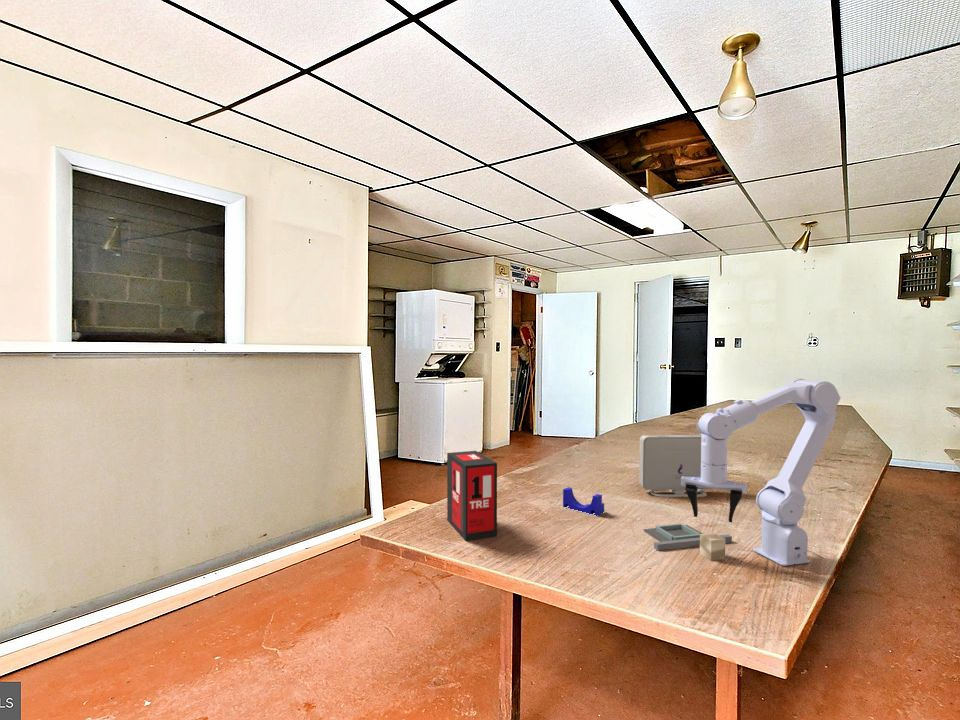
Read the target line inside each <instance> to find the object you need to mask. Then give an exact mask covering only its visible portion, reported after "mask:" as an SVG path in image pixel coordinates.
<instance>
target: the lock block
mask: <svg viewBox="0 0 960 720" xmlns="http://www.w3.org/2000/svg"><path fill="white" fill-rule="evenodd" d="M719 535H720V534H717V533H715V532H709V533H708V532H707V533H703V534H700V546H699V555H701V556H702V557H703V558H705V557H706V559H707V560H709V561H711V562H712V561H720V560H726V543H725V538H723V537H721V536H719Z"/></svg>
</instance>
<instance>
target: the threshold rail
mask: <svg viewBox="0 0 960 720" xmlns="http://www.w3.org/2000/svg"><path fill="white" fill-rule="evenodd" d="M718 535H719V536H721V537H723V538H725V544H726V543H728V544H729V543H732V542H733V541H732V540H733V539H732V537H733V536H731V535H730V534H718ZM691 547H692V548H693V547H700V537H699V538H690V539H681V540H671V541H662V542H660V541H655V542H654V544H653V548H654V549H655V550H656V551H658V552H659V551H665V550H674V549H683V548H684V549H685V548H691Z"/></svg>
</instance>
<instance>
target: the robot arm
mask: <svg viewBox="0 0 960 720" xmlns="http://www.w3.org/2000/svg"><path fill="white" fill-rule="evenodd" d="M840 400H841V396H840V394H839V391H838V389H837V387H836V385H834V384H833V383H832V382H829V381H825V380H824V381H823V380H822V381H818V380H811V379H810V380H809V379H804V378H796V379H794V380H793V381H789V382H785V383H784V384H783V385H782V386H780V387H778V388H776V389H774V390H772V391H770V392H768V393H766V394H764V395H762V396H760V397H758V398H756V399H754V400H752V401H749V400H746V399H736V400H735V399H734V401H733V403H732V404H731V405H727V406H726V407H724V408H721V407H719V408H717V409H716V411H715V412H707V413H704V414H702V415H701V417H700V418H699V420H698V422H697V423H696V428H697V430H698V432H699V433H700V435H701V477H684V476H682V477H681V486H686V489H685V490H684V491H685V494H687V495H688V497H687V498H689V501H690V504H691V507H692V513H693V517H694V518H697V517H698V515H699V509H698V497H697V494H699V492H698V487H702V488H710V489H709V490H719V491H727V492H729V512H728V523H733V518H734V513H735V511H736V508H737V506H738V504H739V503H740V501H741V499H742V495H744V494H745V495H747V494H748V483H742V482H738V481H731V480H728V479H727V477H728V476H727V474H728V470H727V469H728V439H729V437H730V436H731V435H732V433H733V432H735V431H736V430H738V429H741V428H744V427H745V426H748V425H750V424H752V423H753V424H754V423H755V422H757V420H759V419H758V418H759V415H761V414H763V413H765V412H768V411H771V410H774V409H776V408H779V407H782V406H784V405H787V404H790V403H791V404H792V403H793V404H794V405H795V406H796V408H797V409H798V410H799V411H800V412H801V413H802V416H803V417H804V419H805V421H804V424H803V426H802V428H801V430H800V432H799V433H798V435H797V436H796V439H795V442H794V444H793V446H792V448H791V449H790V451H789V453H788V455H787V457H786V460H785V461H784V464H783V465H782V468H781V469H780V471H779V473H778V476H777V477H775V478H772V479H770V480H768V481H767V483H766V485H765V486H764V487H763V488H762V489H761V490H759V491H758V493H757V494H756V496H755V497H756V498H755V502H756V505H757V507H759V509H760V511H761V512H760V513H761V543H760V544H761V546H760V547H753V548H752V551H753V552H755V553H758V554H760V555H761V556H763V557H764V558H766V559H769V560H771V561H773V562H775V563H777V564H779V565H780V566H783V567H787V566H793V565H794V564H795V565H802V564H808V563H810V562H811V560H810V559H808V546H809V545H808V542H809V541H808V539H809V538H808V537H809V536H808V533H807V532H806V531H805V529H803V528H801V527H800V526H799V525H798V522H799V521H801V519H802V518H803V515H804V506H805V502H806V501H807V498H806V495H805V492H804V490H803V487H804V485H805V483H806V480H807V479H808V477H809V475H810V473H811V472H812V469H813V467H814V465H815V464H816V461H817V459H818V457H819V455H820V454H821V451H822V450H823V447H824V445H825V443H826V442H827V439H828V437H829V436H830V433H831V432H832V429H833V428H834V425H835V423H836V411H837V409H836V408H837V407H838V404H839V403H840Z"/></svg>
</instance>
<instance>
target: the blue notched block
mask: <svg viewBox="0 0 960 720" xmlns="http://www.w3.org/2000/svg"><path fill="white" fill-rule="evenodd" d="M567 506H569V507H568V508H570V509H569V510H571V509H574V510H578V511H582V512H586V513H589V514H588V515H590V514H593V513H595V514H594V515H596V516H595V517H598V516H597V515H599V514H601V513H603V512H604V513H605V503H603V494H599V493H596V494H595V495H592V499H591V502H590V503H589V504H588V503H587V504H582V503H581V502H579V501H578V500H577V499H576V497H575V494H574V492H573V488H572V487H565V488H563V489H562V508H563V507H567ZM574 510H573V511H574ZM578 511H577V512H578ZM582 512H581V513H582ZM586 513H585V514H586ZM604 513H603V514H604ZM594 515H593V516H594ZM601 515H602V514H601ZM599 516H600V515H599Z"/></svg>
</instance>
